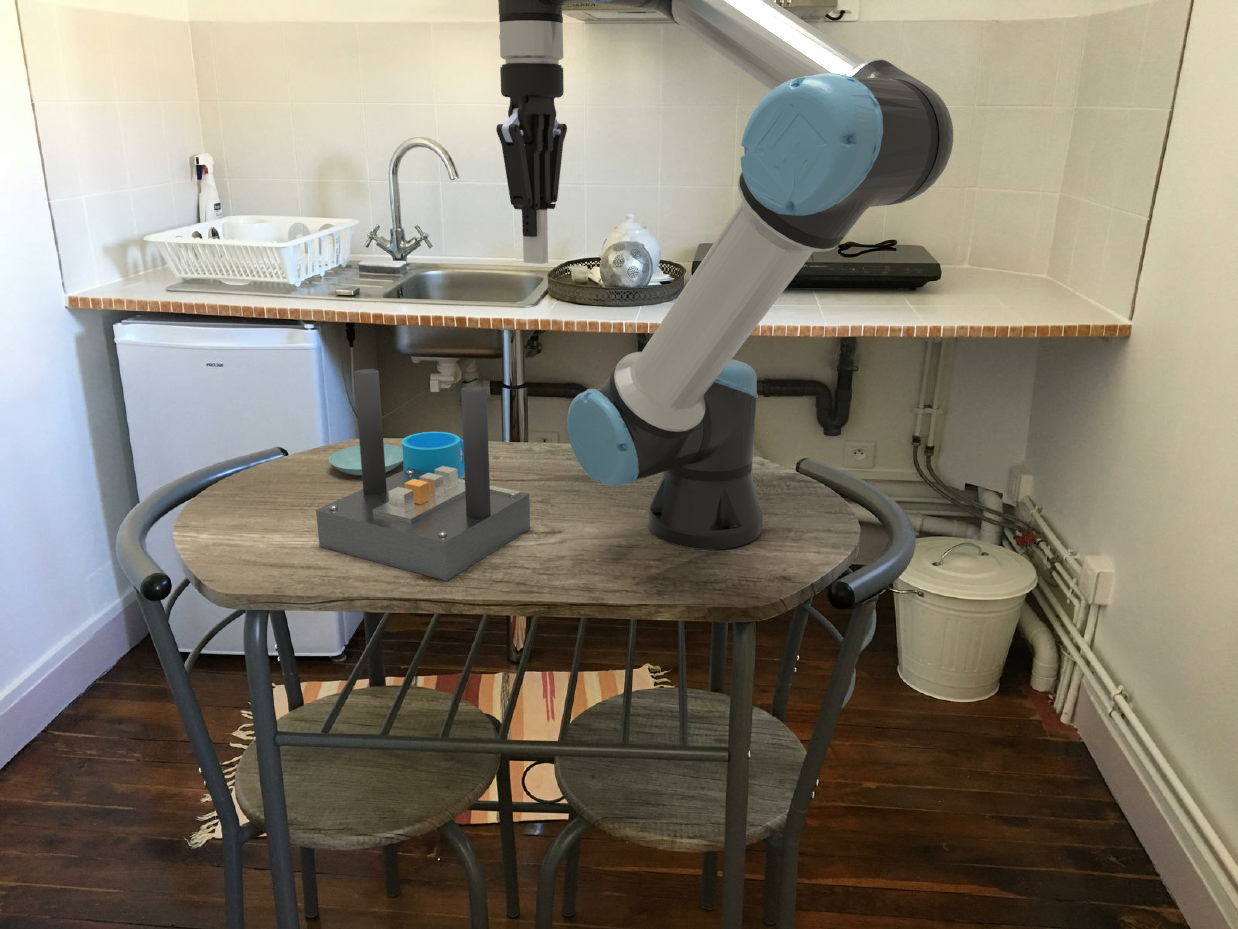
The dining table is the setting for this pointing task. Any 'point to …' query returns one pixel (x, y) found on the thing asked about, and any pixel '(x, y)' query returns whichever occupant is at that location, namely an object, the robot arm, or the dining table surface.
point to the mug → (433, 452)
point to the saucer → (351, 459)
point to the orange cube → (418, 490)
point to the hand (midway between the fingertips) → (535, 262)
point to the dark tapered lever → (476, 451)
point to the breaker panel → (422, 524)
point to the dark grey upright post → (370, 430)
